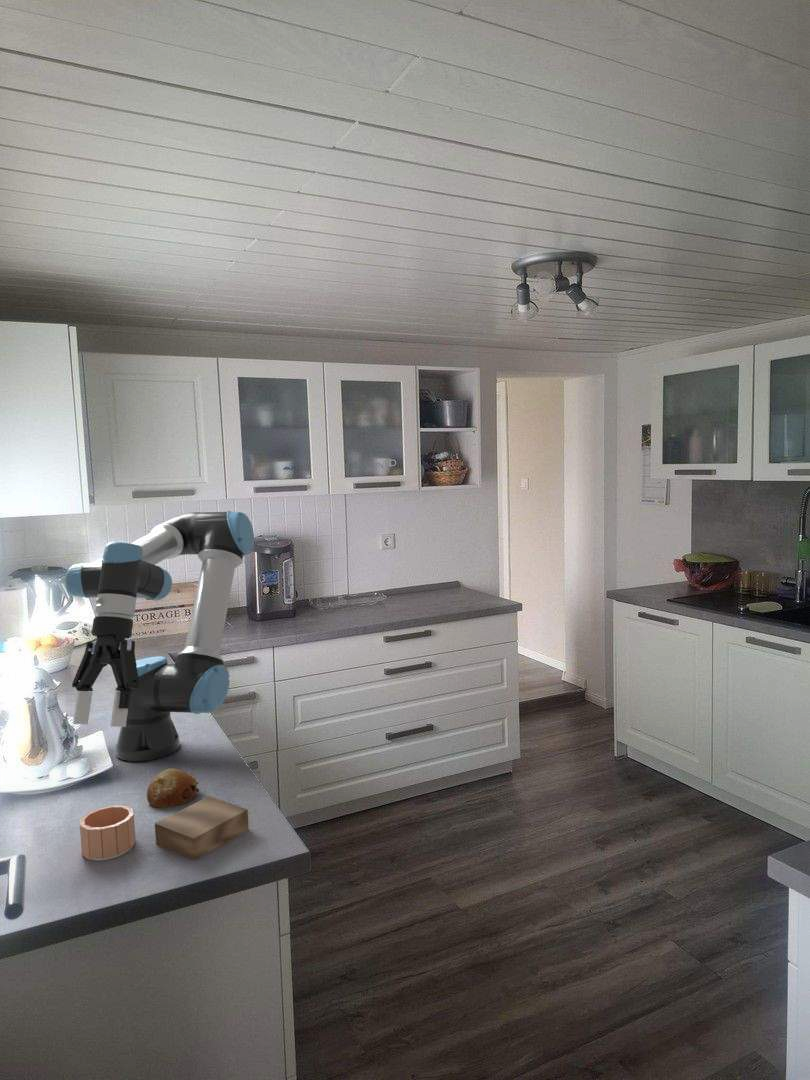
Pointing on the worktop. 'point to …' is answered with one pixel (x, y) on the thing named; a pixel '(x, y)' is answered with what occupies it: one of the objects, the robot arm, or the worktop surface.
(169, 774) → the bread roll
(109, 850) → the wooden tub
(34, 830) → the worktop surface
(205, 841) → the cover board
